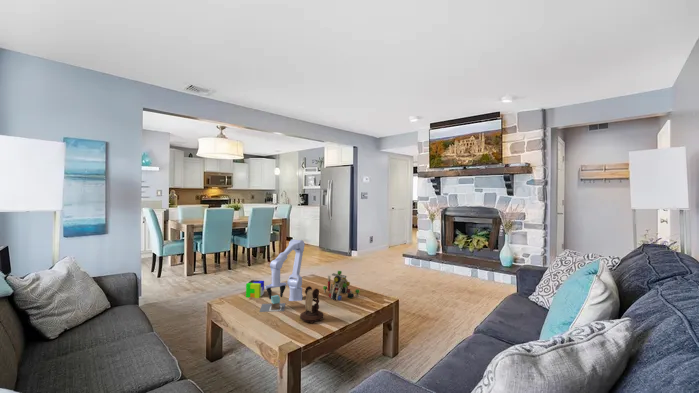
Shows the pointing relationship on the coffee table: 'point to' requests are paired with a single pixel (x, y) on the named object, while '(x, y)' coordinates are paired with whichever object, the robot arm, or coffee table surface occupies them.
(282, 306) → the grey flat plate
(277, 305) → the walnut block
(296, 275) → the robot arm
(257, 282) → the puzzle toy
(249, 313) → the coffee table surface
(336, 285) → the toy construction set
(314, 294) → the wooden figurine on stand
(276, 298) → the teal block
